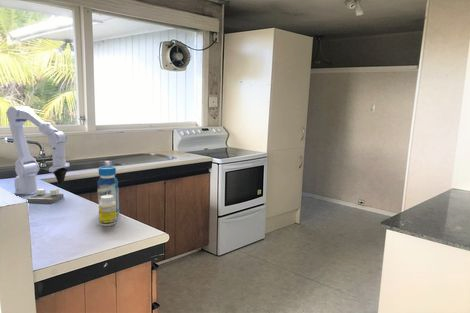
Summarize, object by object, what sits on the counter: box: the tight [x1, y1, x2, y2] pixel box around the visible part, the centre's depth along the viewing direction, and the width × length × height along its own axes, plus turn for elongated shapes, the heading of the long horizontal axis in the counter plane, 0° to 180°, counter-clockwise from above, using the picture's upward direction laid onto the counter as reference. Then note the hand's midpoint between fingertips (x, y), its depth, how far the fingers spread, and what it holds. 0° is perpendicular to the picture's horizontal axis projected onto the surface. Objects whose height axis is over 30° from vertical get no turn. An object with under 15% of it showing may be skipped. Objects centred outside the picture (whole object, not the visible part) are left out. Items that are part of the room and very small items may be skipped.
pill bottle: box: [98, 195, 118, 227], centre depth 138 cm, size 6×6×11 cm
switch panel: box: [26, 192, 65, 204], centre depth 170 cm, size 12×10×2 cm
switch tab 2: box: [49, 188, 60, 195], centre depth 172 cm, size 3×2×2 cm
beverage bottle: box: [96, 165, 120, 215], centre depth 150 cm, size 8×8×20 cm
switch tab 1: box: [35, 188, 47, 195], centre depth 172 cm, size 3×2×2 cm
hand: (60, 183), depth 177 cm, fingers closed
